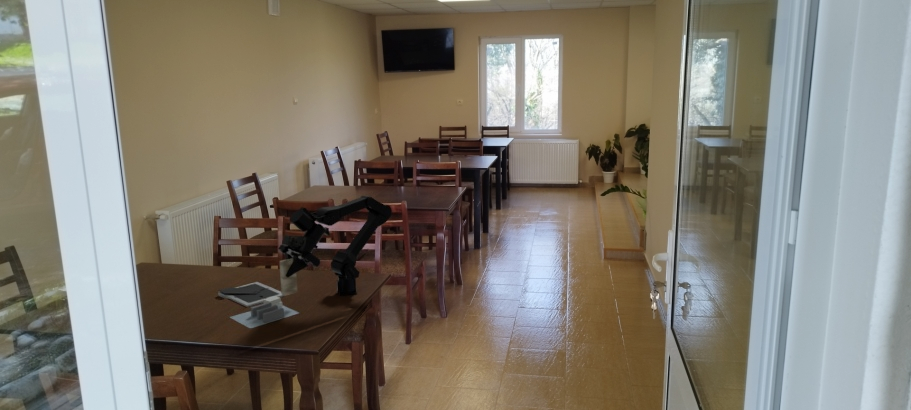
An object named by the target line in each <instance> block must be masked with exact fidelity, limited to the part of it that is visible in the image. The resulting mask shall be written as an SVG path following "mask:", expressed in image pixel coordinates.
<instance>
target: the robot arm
mask: <svg viewBox="0 0 911 410" xmlns="http://www.w3.org/2000/svg"><path fill="white" fill-rule="evenodd" d="M364 209H366V211H368V212H367V219H366V221H365V222H364V224H363V225H362V227H361V228H360V230H359V231H358V232H357V233H356V235H355V236H354V238H353V239H352V240H351V242H350V243H349V245H348V246H347V247H346V249H344V250H343V251H342V250H338V251H336V253H335V255H334V256H333V257H331V262H330V269H331V270H332V272H333V273H334V275H335V276H337V280H336V290H337V293H338V295H339V296H346V295H356V294H358V292H357V291H358V290H357V279H358V278H359V276H360V271H359V270H358V269H357V268H356V264H357V259H358V256H359V254H360V253H361V251H363V249H364V247H365V246H366V244H367V243H368V241H370V239H371V238H372V236H373V235H374V233H375V232H376V230H377V229H378V228H379V227H381V226H383V225H384V224H386V222H387V221H388V220H389V219H390V218H392V215H393V213H392V212H393V211H392V207H391V206H390V205H388V204H384V203H382V202H380V201H378V200H376V199H375V198H374V197H372V196H369V195H361V196H360V197H357V198H355V199H352V200H349V201H347V202H344V203H342V204H339V205H335V206H323V207H319V208H318V209H316V211H314V212H309V210H308V209H307V208H306V207H305V206H304V207H303V206H301V207H300V208H299V209H296V211H294V212H292V213H291V214H290V218H289V222H290V223H291V224H293V225H294V226H295V227H296V228H297V229H299V230H300V231H301V232H304V234H303V235H295V236H294V237H293V236H289V235H286V234H284V236H283V238H282V240H281V244H280V245H279V246H278V248H277V250H278V251H280V253H282V254H283V255H284V256H285V260H286V259H291V258H293V263H292V265H291V266H290V268H289V270H288V272H287V274H286V277H290V276H291V275H293V274H295V273H296V274H297V273H298V272H300V271H301V270H304V269H305V268H308V267H309V264H311V267H313V268H316V269H317V268H319V266H320V264H321V259H320V258H318V257H317V256H316V255H314V254H313V253H312V252H313V251H314V249H316V250H317V249H318V247H319V246H318V244H319V242H320V241H321V239H322V238H323V236H324V235H325V236H328V237H329V236H330V235H331V233H330V229H329V227H330V226H333V225H335V224H337V223H338V222H339V223H340V221H341V220H342V218H344V217H346V216H349V215H352V214H353V213H356V212H359V211H361V210H364ZM323 225H325V227H324V226H323ZM326 226H329V227H326Z"/></svg>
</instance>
